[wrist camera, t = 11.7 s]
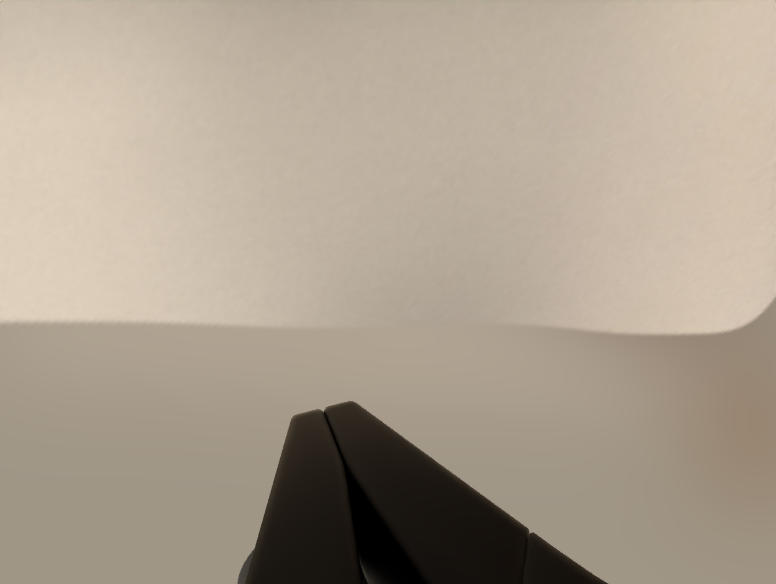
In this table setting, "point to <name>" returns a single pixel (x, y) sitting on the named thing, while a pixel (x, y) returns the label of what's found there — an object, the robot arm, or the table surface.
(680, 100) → the table surface
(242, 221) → the table surface
